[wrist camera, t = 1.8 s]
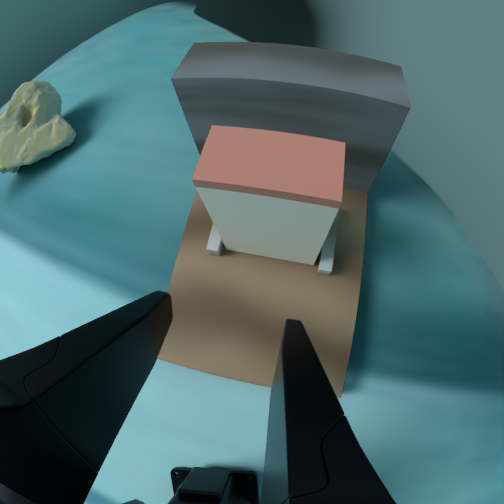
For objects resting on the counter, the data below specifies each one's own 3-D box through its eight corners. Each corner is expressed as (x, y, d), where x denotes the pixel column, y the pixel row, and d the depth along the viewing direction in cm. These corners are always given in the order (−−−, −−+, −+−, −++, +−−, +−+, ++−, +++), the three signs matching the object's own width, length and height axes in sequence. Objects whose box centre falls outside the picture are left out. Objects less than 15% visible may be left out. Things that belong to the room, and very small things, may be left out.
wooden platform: (336, 393, 18) (395, 439, 8) (160, 356, 20) (65, 359, 9) (363, 162, 24) (400, 66, 13) (220, 141, 25) (194, 43, 15)
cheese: (99, 109, 32) (19, 77, 25) (93, 97, 25) (3, 63, 18) (53, 212, 33) (-23, 176, 26) (39, 221, 27) (-47, 180, 19)
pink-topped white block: (313, 265, 19) (341, 201, 11) (226, 249, 20) (191, 179, 12) (319, 224, 20) (345, 142, 12) (236, 210, 21) (211, 125, 12)
